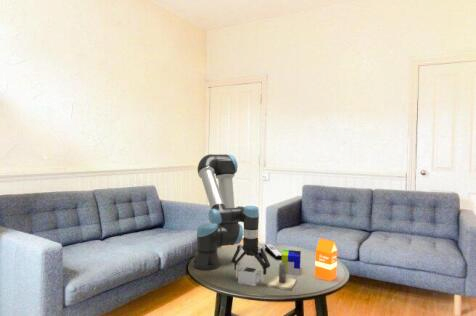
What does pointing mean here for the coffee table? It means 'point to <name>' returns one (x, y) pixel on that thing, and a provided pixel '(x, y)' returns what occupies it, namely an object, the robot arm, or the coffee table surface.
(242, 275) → the frame
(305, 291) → the coffee table surface
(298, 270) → the puzzle toy
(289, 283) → the shaft block
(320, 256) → the orange juice
